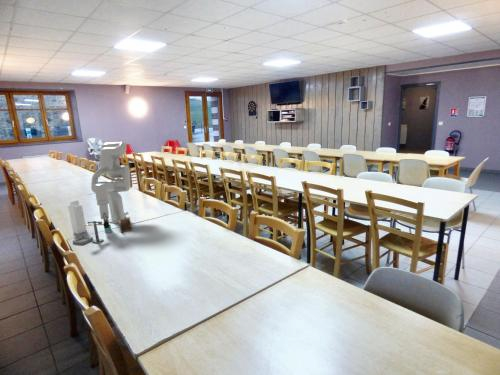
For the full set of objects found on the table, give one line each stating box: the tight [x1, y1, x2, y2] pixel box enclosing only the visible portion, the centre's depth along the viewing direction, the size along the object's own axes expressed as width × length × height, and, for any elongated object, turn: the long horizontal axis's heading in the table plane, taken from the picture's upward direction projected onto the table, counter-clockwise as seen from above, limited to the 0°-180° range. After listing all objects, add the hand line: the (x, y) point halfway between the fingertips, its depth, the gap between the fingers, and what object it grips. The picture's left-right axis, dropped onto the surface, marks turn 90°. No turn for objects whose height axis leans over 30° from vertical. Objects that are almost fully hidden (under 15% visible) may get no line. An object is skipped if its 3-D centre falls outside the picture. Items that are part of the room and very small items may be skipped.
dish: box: [72, 236, 94, 246], centre depth 193 cm, size 8×8×2 cm
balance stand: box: [91, 223, 104, 244], centre depth 190 cm, size 5×4×12 cm
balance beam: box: [84, 220, 104, 227], centre depth 189 cm, size 4×13×2 cm, turn 161°
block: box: [103, 224, 112, 233], centre depth 209 cm, size 4×4×4 cm
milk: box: [67, 200, 88, 235], centre depth 209 cm, size 6×6×22 cm
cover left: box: [118, 217, 133, 234], centre depth 209 cm, size 7×7×7 cm
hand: (106, 226), depth 208 cm, fingers open, 9 cm apart
